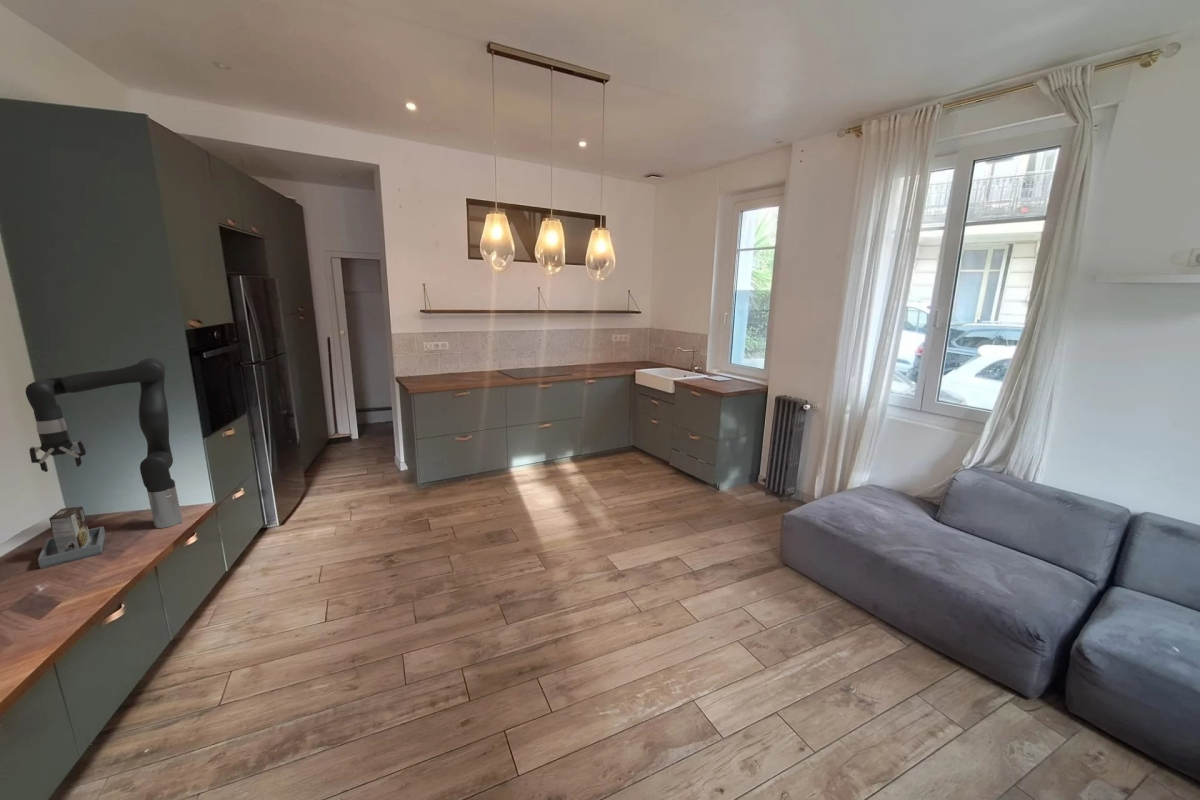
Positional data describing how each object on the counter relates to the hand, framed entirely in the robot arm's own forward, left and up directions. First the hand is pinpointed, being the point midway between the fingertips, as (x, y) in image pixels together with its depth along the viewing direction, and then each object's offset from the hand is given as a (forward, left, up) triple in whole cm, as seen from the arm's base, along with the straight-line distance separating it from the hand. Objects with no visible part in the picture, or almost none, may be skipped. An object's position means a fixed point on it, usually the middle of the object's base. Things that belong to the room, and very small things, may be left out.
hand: (62, 468), depth 185 cm
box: (+1, +8, -33) cm, 34 cm away
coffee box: (+1, +8, -32) cm, 33 cm away
